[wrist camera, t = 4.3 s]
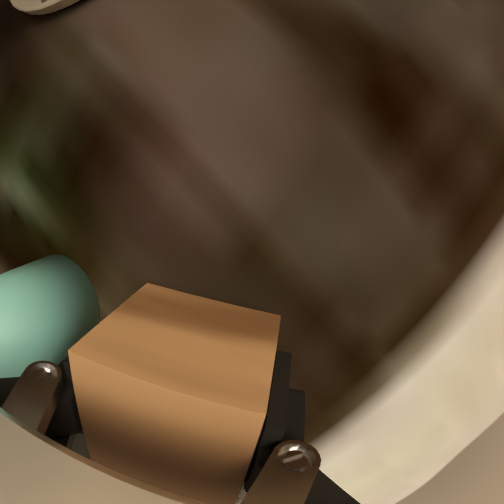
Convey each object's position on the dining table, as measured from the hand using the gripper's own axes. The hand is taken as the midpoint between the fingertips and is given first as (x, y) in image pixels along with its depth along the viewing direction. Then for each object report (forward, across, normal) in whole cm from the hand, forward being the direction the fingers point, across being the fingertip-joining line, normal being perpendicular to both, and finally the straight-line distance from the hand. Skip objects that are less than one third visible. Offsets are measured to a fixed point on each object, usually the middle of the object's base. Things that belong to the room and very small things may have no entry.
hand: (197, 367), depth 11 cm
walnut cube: (+1, 0, 0) cm, 1 cm away
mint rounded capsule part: (+3, +8, +1) cm, 9 cm away
